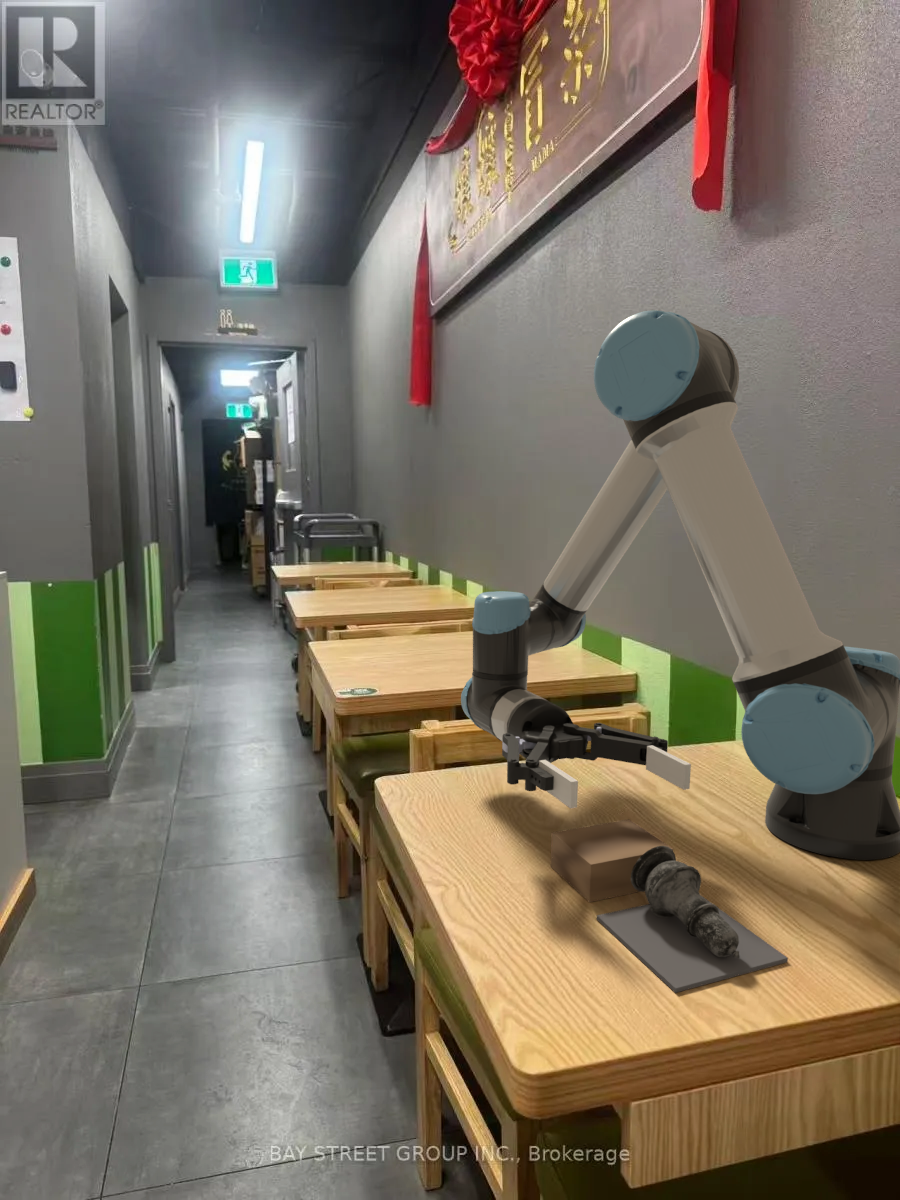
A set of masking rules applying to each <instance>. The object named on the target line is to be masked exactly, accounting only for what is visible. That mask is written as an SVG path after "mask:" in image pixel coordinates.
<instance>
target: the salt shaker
mask: <svg viewBox="0 0 900 1200" xmlns="http://www.w3.org/2000/svg"><path fill="white" fill-rule="evenodd" d="M676 859H677V858H676V854H675V852H674V849H673V850H672V849H670V848H669V847H666V846H657V847H654V848H652V849H650V850H648V851H647V852H645V853H644V854H643V855H642V856H641V857H640V858H639V859H638V860H637V862H636V863H635V865H634V867H633V869H632V872H631V884H632V885H633V887H634V888H635V889H636V890H638V891H640V892H641V893H642V892H643V893H645V897H646V900H647V903H648V904H650V909H651V911H652V912H653V914H654V915H656V916H657V917H661V918H669V917H672V916H677V917H678V918H679V919H680V920H681V921H682V922H683V923H684V924H685V925H686V926H687V927H686V928H687V932H688V934H690V935H691V936H694V937H698V938H699V939H700V940H701V941H702V942H703V943H704V944H705V946H706V947H707V948H708V949H709V950H710V951H711V952H712V953H713V954H715V955H716V956H717V957H727V956H730V955H731V954H733V957H736V958H740V957H739V951H736V949H737V947H738V944H739V938H738V934H737V933H736V931H735V930H734V929H733V928H732V927H731V926H730V925H729V924H728V923H727V922H726V921H725V920H724V919H723V918H722V917H721V916H720V915H719V909H720V908H719V907H718V906H717V905H715V903H712V902H711V903H712V904H711V903H708V902H707V901H706V900H705V899H706V898H705V897H704V896H703V897H704V898H705V899H704V898H703V897H702V894H701V893H700V892H699V891H700V888H701V884H702V878H701V873H700V872H699V870H698V869H697V868H696V867H694V866H691V865H688V864H686V863H684V862H682V861H679V860H676ZM718 908H719V909H718Z"/></svg>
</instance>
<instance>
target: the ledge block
mask: <svg viewBox="0 0 900 1200" xmlns="http://www.w3.org/2000/svg"><path fill="white" fill-rule="evenodd" d="M657 846H666V847H669V848H670V849H672V850H673V851H674V848H673V847H672V846H670V845H669V844H668V843H665V842H664V841H662V839H660V838H659V837H657V836H655V835H654V834H652V833H651V832H649V831H648V830H647V829H645V828H644V827H642V826H640V825H639V824H637V823H636V822H634V821H633V820H631V819H630V818H628V819H622V820H616V821H609V822H604V823H597V824H592V825H588V826H587V825H586V826H581V827H576V828H575V827H574V828H569V829H564V830H557V831H551V847H550V849H551V851H550V868H551V869H553V870H554V871H555V873H557V874H558V875H559V876H560V877H561V878H562V879H564V880H565V881H566V882H567V883H568V884H569V885H570V886H571V887H572V888H574V890H576V892H577V893H579V895H581V897H583V898H584V899H585V900H586V901H587V902H589V903H593V902H596V901H601V900H602V901H603V900H606V899H607V900H608V899H611V898H617V897H620V896H626V895H629V894H630V895H631V894H635V893H639V892H641V891H638V890H636V889H635V888H634V887H633V885H632V884H631V872H632V869H633V867H634V865H635V863H636V862H637V860H638V859H639V858H640V857H641V856H642V855H643V854H644V853H645V852H647V851H648V850H650V849H652V848H654V847H657Z"/></svg>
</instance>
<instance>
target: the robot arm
mask: <svg viewBox="0 0 900 1200" xmlns="http://www.w3.org/2000/svg"><path fill="white" fill-rule="evenodd" d="M739 381H740V368H739V363H738V358H737V357H736V354H735V352H734V350H733V349H732V347H731V345H729V343H728V342H727V341H726V340H725V338H724V339H723V337H721V336H719V335H718V334H717V333H714V332H713V331H710V330H708V329H704V328H703V327H701V326H699V325H697V324H695V323H693V322H691V321H690V320H689V319H687V318H686V317H685V316H683V315H682V314H679V313H678V314H677V313H676V312H672V311H663V310H657V309H656V310H653V309H652V310H644V311H640V312H637V313H635V314H633V315H630V316H628V317H627V318H625V319H623V320H622V321H621V322H619V323H618V324H617V325H616V326H615V327H614V328H613V329H612V330H611V331H610V332H609V333H608V334H607V335H606V337H605V339H604V341H603V342H602V344H601V346H600V348H599V351H598V354H597V357H596V359H595V362H594V367H593V384H594V389H595V393H596V395H597V397H598V399H599V401H600V403H601V404H602V405H603V406H604V407H605V408H606V409H607V410H608V411H609V412H610V413H611V414H612V415H613V416H615V417H617V418H618V419H621V420H622V421H623V422H624V425H625V428H626V429H627V433H628V434H629V438H630V441H629V442H628V444H627V446H626V448H625V449H624V450H623V453H622V454H621V456H620V458H619V459H618V461H617V463H616V464H615V465H614V468H612V470H611V472H610V474H609V475H608V476H607V479H606V481H605V482H604V483H603V485H602V486H601V488H600V490H599V492H598V493H597V495H596V497H595V498H594V499H593V501H592V503H591V504H590V506H589V508H588V509H587V511H586V513H585V514H584V516H583V518H582V519H581V521H580V523H579V524H578V526H577V527H576V529H575V531H574V532H573V533H572V535H571V537H570V539H569V541H567V544H566V545H565V547H563V550H562V552H561V553H560V555H559V557H558V558H557V560H556V562H555V564H554V565H553V567H552V568H551V570H550V571H549V573H548V575H547V577H545V580H544V581H543V583H542V585H541V587H539V588H538V589H539V590H538V591H537V592H536V594H535V595H534V597H533V598H532V600H529V599H530V598H529V597H528V596H527V595H526V594H525V593H522V592H518V591H507V590H506V591H505V590H504V591H499V590H498V591H484V592H481V593H479V594H478V595H476V598H475V599H474V605H473V607H474V609H473V618H472V623H471V624H472V625H471V626H472V673H471V678H469V679H468V680H467V682H466V683H465V684H464V687H463V690H462V691H461V695H460V702H461V704H460V705H461V708H462V710H463V712H464V715H466V717H468V718H469V720H471V721H472V723H473V724H474V725H475V726H476V727H477V728H478V729H481V730H482V731H485V732H487V733H489V734H490V735H492V736H494V737H495V738H496V739H497V740H499V741H501V742H502V743H501V745H502V749H501V750H502V751H501V752H502V753H501V755H502V757H503V758H504V759H505V760H507V762H506V765H507V767H506V771H507V773H506V782H507V784H509V785H517V784H519V781H520V780H521V781H524V790H525V791H528V792H535V791H537V788H538V789H540V790H542V791H544V792H547V793H548V794H550V795H551V796H552V797H553V798H556V799H557V800H558V801H559V802H561V803H562V804H564V806H567V808H569V809H575V808H578V791H579V790H578V789H579V788H578V787H579V781H578V780H577V779H576V778H574V777H573V776H571V775H570V774H568V773H567V772H565V771H564V770H562V769H561V768H558V766H556V765H554V764H553V763H554V762H555V761H557V760H562V759H563V760H564V759H569V760H573V759H581V760H586V761H592V762H594V761H596V760H598V758H600V759H605V760H612V761H618V762H624V763H630V764H635V765H641V766H645V770H646V771H648V772H649V773H652V774H654V775H656V776H658V777H659V778H661V779H663V780H665V781H666V782H668V783H670V784H672V785H674V786H676V787H678V788H680V789H681V790H683V791H684V790H685V791H686V790H690V788H691V787H690V786H691V769H692V764H691V763H689V762H688V761H686V760H683V759H681V758H680V757H677V756H675V755H674V754H671V753H669V752H668V747H669V745H668V743H669V741H668V740H667V739H664V738H659V737H657V736H651V735H646V734H641V733H637V732H633V731H628V730H626V729H621V728H616V727H612V726H609V725H606V724H604V723H601V722H596V723H594V724H593V728H588V727H583V726H582V727H581V726H579V725H578V724H575V723H574V722H573V720H572V718H571V717H570V715H569V714H568V712H567V711H566V710H565V709H564V708H562V707H560V706H558V705H557V704H555V703H553V702H552V701H551V702H550V701H549V700H547V699H546V698H543V697H542V696H540V695H538V694H535V693H533V692H531V691H529V690H528V673H529V672H528V671H529V656H532V655H535V654H538V653H542V652H546V651H549V650H553V649H557V648H562V647H565V646H567V645H569V644H570V643H572V642H574V641H576V640H577V639H578V638H579V637H580V636H582V634H583V633H584V631H585V628H586V623H587V615H586V612H587V611H588V610H589V608H590V606H591V605H592V604H593V602H594V600H595V599H596V597H597V596H598V595H599V593H600V592H601V590H602V589H603V587H604V586H605V584H606V583H607V581H608V579H609V578H610V576H611V575H612V573H613V572H614V571H615V569H616V567H617V566H618V565H619V563H620V562H621V559H622V558H623V557H624V555H625V554H626V552H627V551H628V550H629V548H630V546H631V545H632V543H633V542H634V540H635V539H636V538H637V536H638V534H639V533H640V531H641V530H642V528H643V526H644V525H645V524H646V522H647V521H648V519H649V518H650V516H651V514H652V513H653V512H654V510H655V508H656V507H657V506H658V504H659V503H660V501H661V500H662V498H663V496H664V495H665V494H666V492H667V491H668V493H669V496H670V498H671V500H672V503H673V504H674V505H673V506H674V508H675V510H676V511H677V514H678V518H679V519H680V522H681V524H682V527H683V529H684V532H685V533H686V536H687V538H688V541H689V543H690V545H691V548H692V550H693V553H694V555H695V557H696V559H697V562H698V565H699V566H700V569H701V572H702V574H703V576H704V578H705V580H706V583H707V585H708V589H709V591H710V592H711V595H712V597H713V600H714V603H715V604H716V607H717V609H718V611H719V615H720V616H721V618H722V621H723V624H724V626H725V628H726V629H725V630H726V631H727V633H728V635H729V638H730V641H731V643H732V645H733V647H734V650H735V652H736V654H737V657H738V664H737V667H736V669H735V671H734V673H733V675H732V678H731V679H732V682H733V684H734V687H735V690H736V693H737V695H738V697H739V700H740V702H741V705H742V707H743V709H744V715H743V718H742V722H741V741H742V745H743V748H744V750H745V753H746V755H747V757H748V759H749V761H750V763H752V765H753V767H755V769H757V771H758V772H759V773H760V774H762V776H764V777H765V778H766V779H767V780H769V781H770V782H771V783H773V784H774V785H773V788H772V790H771V793H770V795H769V797H768V799H767V801H766V806H765V815H764V816H765V817H764V818H765V819H764V823H765V826H766V827H767V829H768V830H769V831H770V832H771V833H772V834H774V835H775V836H776V837H777V838H779V839H781V840H782V841H784V842H786V843H788V844H790V845H793V846H794V847H797V848H800V849H803V850H806V851H808V852H812V853H815V854H819V855H824V856H828V857H833V858H838V859H840V858H841V859H847V860H859V861H860V860H863V861H867V860H869V861H871V860H872V861H873V860H881V859H887V858H890V857H893V856H895V855H898V854H899V853H900V807H899V802H898V799H897V795H896V791H895V789H894V788H895V787H894V784H893V768H894V767H893V765H894V755H895V748H896V747H895V744H896V733H897V722H898V710H899V702H900V701H899V699H900V658H899V657H898V656H897V655H896V654H894V653H891V652H888V651H883V650H878V649H871V648H870V649H869V648H862V647H853V646H846V645H844V644H843V641H842V640H839V639H837V638H834V637H833V636H830V635H827V634H825V633H824V632H822V630H820V629H819V626H818V624H817V621H816V618H815V617H814V614H813V612H812V610H811V608H810V606H809V603H808V601H807V599H806V598H807V597H806V596H805V594H804V592H803V589H802V588H801V585H800V582H799V581H798V578H797V575H796V574H795V572H794V569H793V566H792V564H791V561H790V559H789V557H788V555H787V553H786V551H785V549H784V546H783V544H782V542H781V540H780V536H779V534H778V532H777V530H776V527H775V526H774V523H773V521H772V519H771V517H770V513H769V512H768V509H767V508H766V505H765V503H764V500H763V499H762V497H761V494H760V492H759V488H758V487H757V485H756V483H755V480H754V478H753V475H752V474H751V471H750V469H749V467H748V465H747V462H746V460H745V458H744V455H743V452H742V450H741V448H740V447H739V444H738V441H737V439H736V438H735V434H734V432H733V430H732V424H733V422H734V419H735V417H736V415H737V413H738V409H739V407H738V405H737V402H736V400H735V398H736V396H737V392H738V389H739V383H740V382H739ZM589 742H590V752H589V751H587V748H588V744H589ZM520 755H521V757H523V758H524V759H525V762H520Z"/></svg>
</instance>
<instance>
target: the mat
mask: <svg viewBox="0 0 900 1200" xmlns="http://www.w3.org/2000/svg"><path fill="white" fill-rule="evenodd" d="M701 896H702V895H701ZM702 897H703V898H704V899H705V900H706V901H707V902H708V903H711V904H713V902H711V901H709V900H708V899H707V898H705V897H704V896H702ZM718 909H719V915H720V916H721V917H722V918H723V919H724V920H725V921H726V922H727V923H728V924H729V925H730V926H731V927H732V928H733V929H734V930H735V931H736V933H737V934H738V938H739V944H738V947H737V949H736V951H739V957H740V958H736V957H733V954H731V955H730V956H727V957H717V956H716V955H715V954H713V953H712V952H711V951H710V950H709V949H708V948H707V947H706V946H705V944H704V943H703V942H702V941H701V940H700V939H699V938H698V937H694V936H691V935H690V934H688V932H687V928H686V927H687V926H686V925H685V924H684V923H683V922H682V921H681V920H680V919H679V918H678V917H677V916H672V917H669V918H661V917H657V916H656V915H654V914H653V912H652V911H651V909H650V904H649V903H647V904H641V905H638V906H633V907H629V908H624V909H620V910H615V911H611V912H606V913H601V914H597V915H596V921H598V922H599V923H600V924H601V925H602V926H603V927H604V928H605V929H606V930H607V931H608V932H609V933H610V934H612V935H613V936H614V938H616V939H617V940H618V942H619V941H620V943H621V944H623V945H624V947H626V949H628V950H629V951H630V952H631V953H632V954H633V955H634V956H635V957H636V958H637V959H638V960H640V961H641V962H642V963H643V964H644V965H645V967H647V968H648V969H649V970H651V971H652V973H653V974H654V975H656V977H658V978H659V979H660V980H661V981H662V982H663V983H664V984H665V985H666V986H667V987H669V989H670V990H672V991H673V992H674V993H680V992H684V991H687V990H691V989H694V988H698V987H702V986H705V985H708V984H712V983H716V982H720V981H724V980H727V979H730V978H735V977H738V976H741V975H745V974H749V973H752V972H753V973H754V972H757V971H759V970H760V971H761V970H764V969H767V968H771V967H774V966H778V965H782V964H785V963H788V961H789V958H788V957H787V956H786V955H784V954H783V953H782V952H780V951H779V950H778V949H776V948H775V947H774V946H772V945H771V944H769V943H768V942H766V941H765V940H764V939H762V937H759V935H757V934H755V933H754V932H753V931H751V930H750V929H748V928H747V927H745V926H744V925H743V924H742V923H740V922H739V921H738V920H736V919H734V918H733V917H732V916H731V915H729V914H728V913H726V912H725V911H723V910H722V909H721V908H719V907H718Z"/></svg>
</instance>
